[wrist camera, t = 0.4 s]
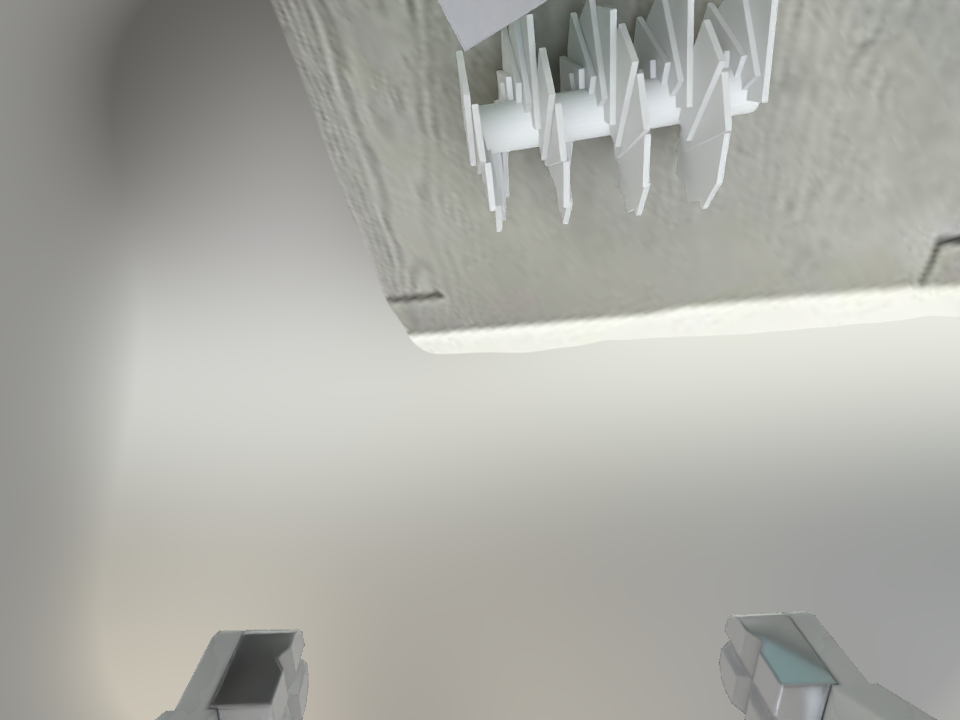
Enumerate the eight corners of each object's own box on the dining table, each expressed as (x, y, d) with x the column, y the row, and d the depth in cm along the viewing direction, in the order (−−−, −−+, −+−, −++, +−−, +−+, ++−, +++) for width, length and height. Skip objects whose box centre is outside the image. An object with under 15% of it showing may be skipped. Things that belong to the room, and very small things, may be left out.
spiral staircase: (691, 87, 60) (460, 125, 60) (761, -89, 43) (440, -37, 43) (741, 236, 54) (486, 277, 54) (844, 101, 37) (474, 160, 37)
